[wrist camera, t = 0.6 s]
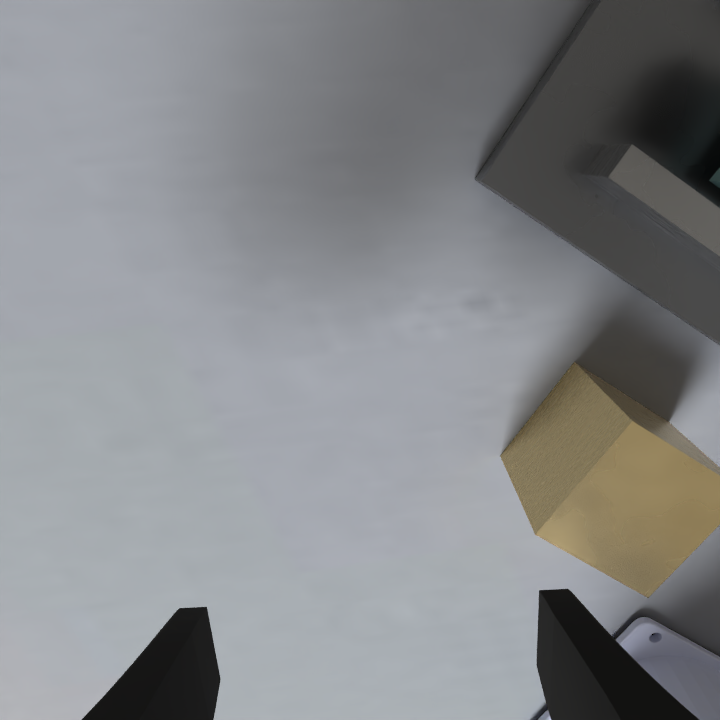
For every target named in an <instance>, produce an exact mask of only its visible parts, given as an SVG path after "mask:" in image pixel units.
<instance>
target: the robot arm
mask: <svg viewBox="0 0 720 720" xmlns="http://www.w3.org/2000/svg"><path fill="white" fill-rule="evenodd" d="M653 633H656V634H654V635H652V634H653ZM537 668H538V672H539V676H540V680H541V684H542V688H543V692H544V696H545V700H546V704H547V707H548V710H547V711H546V712H545V713H544V714H543V715H542V716H541V717H540V718H539V719H538V720H720V657H719V656H717V655H715V654H714V653H712V652H710V651H708V650H706V649H705V648H703V647H701V646H699V645H697V644H696V643H694V642H692V641H690V640H688V639H687V638H685V637H683V636H681V635H679V634H678V633H676V632H674V631H672V630H670V629H669V628H667V627H665V626H663V625H661V624H660V623H658V622H656V621H654V620H652V619H651V618H648V617H641V618H638V619H636V620H635V621H633V622H632V624H631V625H630V626H629V627H628V628H627V629H626V630H625V631H624V632H623V633H622V634H621V635H620V636H619V637H618V638H617V639H616V640H615V639H614V638H613V637H612V636H611V635H610V634H609V633H608V632H607V631H606V629H605V628H604V627H603V626H602V625H601V624H600V623H599V622H598V621H597V620H596V619H595V618H594V616H593V615H592V614H591V613H590V612H589V611H588V610H587V609H586V608H585V606H584V605H583V604H582V603H581V602H580V601H579V600H578V599H577V597H576V596H575V595H574V594H573V593H572V592H571V591H570V590H569V589H558V590H539V613H538V641H537ZM219 685H220V675H219V669H218V664H217V659H216V654H215V648H214V643H213V638H212V632H211V627H210V622H209V616H208V611H207V607H197V608H179V609H178V610H177V611H176V612H175V614H174V615H173V616H172V617H171V618H170V619H169V621H168V622H167V623H166V624H165V625H164V627H163V628H162V629H161V630H160V631H159V633H158V634H157V635H156V636H155V638H154V639H153V640H152V641H151V642H150V644H149V645H148V646H147V647H146V648H145V650H144V651H143V652H142V653H141V654H140V656H139V657H138V658H137V659H136V660H135V661H134V663H133V664H132V665H131V666H130V667H129V668H128V669H127V671H126V672H125V673H124V674H123V675H122V676H121V678H120V679H119V680H118V681H117V682H116V683H115V684H114V686H113V687H112V688H111V689H110V690H109V691H108V692H107V693H106V694H105V696H104V697H103V698H102V699H101V700H100V701H99V702H98V703H97V704H96V705H95V706H94V707H93V708H92V709H91V710H90V711H89V712H88V713H87V715H86V716H85V717H84V718H83V719H82V720H213V718H214V713H215V708H216V702H217V696H218V690H219Z"/></svg>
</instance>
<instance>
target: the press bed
mask: <svg viewBox="0 0 720 720" xmlns="http://www.w3.org/2000/svg"><path fill="white" fill-rule="evenodd" d="M719 132H720V0H593V1H592V2H591V4H590V5H589V7H588V8H587V10H586V11H585V13H584V14H583V16H582V17H581V19H580V20H579V22H578V23H577V25H576V27H575V28H574V30H573V31H572V33H571V34H570V36H569V37H568V39H567V40H566V42H565V43H564V45H563V46H562V48H561V49H560V51H559V52H558V54H557V55H556V57H555V58H554V60H553V61H552V63H551V64H550V66H549V68H548V69H547V71H546V72H545V74H544V75H543V77H542V78H541V80H540V81H539V83H538V84H537V86H536V87H535V89H534V90H533V92H532V93H531V95H530V96H529V98H528V99H527V101H526V102H525V104H524V105H523V107H522V109H521V110H520V112H519V113H518V115H517V116H516V118H515V119H514V121H513V122H512V124H511V125H510V127H509V128H508V130H507V131H506V133H505V134H504V136H503V137H502V139H501V140H500V142H499V143H498V145H497V146H496V148H495V150H494V151H493V153H492V154H491V156H490V157H489V159H488V160H487V162H486V163H485V165H484V166H483V168H482V169H481V171H480V172H479V174H478V175H477V177H476V178H475V180H476V181H478V182H479V183H481V184H482V185H484V186H485V187H487V188H488V189H490V190H491V191H492V192H494V193H495V194H497V195H498V196H500V197H501V198H503V199H504V200H506V201H507V202H509V203H510V204H512V205H513V206H515V207H516V208H518V209H519V210H521V211H522V212H524V213H525V214H526V215H528V216H529V217H531V218H532V219H534V220H535V221H537V222H538V223H540V224H541V225H543V226H544V227H546V228H547V229H549V230H550V231H552V232H553V233H555V234H556V235H557V236H559V237H560V238H562V239H563V240H565V241H566V242H568V243H569V244H571V245H572V246H574V247H575V248H577V249H578V250H580V251H581V252H583V253H584V254H586V255H587V256H589V257H590V258H591V259H593V260H594V261H596V262H597V263H599V264H600V265H602V266H603V267H605V268H606V269H608V270H609V271H611V272H612V273H614V274H615V275H617V276H618V277H620V278H621V279H623V280H624V281H625V282H627V283H628V284H630V285H631V286H633V287H634V288H636V289H637V290H639V291H640V292H642V293H643V294H645V295H646V296H648V297H649V298H651V299H652V300H654V301H655V302H656V303H658V304H659V305H661V306H662V307H664V308H665V309H667V310H668V311H670V312H671V313H673V314H674V315H676V316H677V317H679V318H680V319H682V320H683V321H685V322H686V323H688V324H689V325H690V326H692V327H693V328H695V329H696V330H698V331H699V332H701V333H702V334H704V335H705V336H707V337H708V338H710V339H711V340H713V341H714V342H716V343H717V344H719V345H720V188H719V187H717V186H716V185H715V184H713V183H712V182H710V181H709V180H710V179H711V178H712V176H713V175H714V174H715V173H716V171H717V170H718V169H719V167H720V133H719Z"/></svg>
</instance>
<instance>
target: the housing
mask: <svg viewBox="0 0 720 720" xmlns="http://www.w3.org/2000/svg"><path fill="white" fill-rule="evenodd" d="M500 457H501V459H502V461H503V463H504V465H505V468H506V470H507V472H508V474H509V477H510V479H511V481H512V483H513V486H514V488H515V490H516V492H517V495H518V497H519V499H520V501H521V504H522V506H523V508H524V510H525V512H526V515H527V517H528V519H529V521H530V524H531V526H532V528H533V530H534V533H535V535H537V536H539V537H541V538H542V539H544V540H546V541H548V542H549V543H551V544H553V545H555V546H557V547H558V548H560V549H562V550H564V551H566V552H567V553H569V554H571V555H573V556H574V557H576V558H578V559H580V560H582V561H583V562H585V563H587V564H589V565H590V566H592V567H594V568H596V569H598V570H599V571H601V572H603V573H605V574H606V575H608V576H610V577H612V578H614V579H615V580H617V581H619V582H621V583H622V584H624V585H626V586H628V587H630V588H631V589H633V590H635V591H637V592H638V593H640V594H642V595H644V596H646V597H647V598H649V597H650V596H651V595H652V593H653V592H654V591H655V590H656V589H657V588H658V587H659V586H660V585H661V584H662V583H663V582H664V581H665V580H666V579H667V578H668V577H669V576H670V575H671V574H672V573H673V572H674V571H675V570H676V569H677V568H678V567H679V566H680V565H681V564H682V563H683V562H684V561H685V560H686V559H687V558H688V557H689V555H690V554H691V553H692V552H693V551H694V550H695V549H696V548H697V547H698V546H699V545H700V544H701V543H702V542H703V541H704V540H705V539H706V538H707V537H708V536H709V535H710V534H711V533H712V532H713V531H714V530H715V529H716V528H717V527H718V526H719V525H720V467H718V466H717V465H716V464H715V463H714V462H713V461H712V460H711V459H710V458H708V457H707V456H706V455H705V454H704V453H703V452H702V451H701V450H699V449H698V448H697V447H696V446H695V445H694V444H693V443H692V442H691V441H689V440H688V439H687V438H686V437H685V436H684V435H683V434H682V433H681V432H679V431H678V430H677V429H676V428H675V427H674V426H673V425H672V424H670V423H669V422H668V421H666V420H665V419H663V418H662V417H660V416H659V415H657V414H655V413H654V412H652V411H651V410H649V409H648V408H646V407H644V406H643V405H641V404H640V403H638V402H636V401H635V400H633V399H632V398H630V397H629V396H627V395H625V394H624V393H622V392H621V391H619V390H618V389H616V388H614V387H613V386H611V385H610V384H608V383H607V382H605V381H603V380H602V379H600V378H599V377H597V376H596V375H594V374H592V373H591V372H589V371H588V370H586V369H584V368H583V367H581V366H580V365H578V364H577V363H575V362H574V363H573V364H572V366H571V367H570V368H569V369H568V371H567V372H566V373H565V374H564V376H563V377H562V378H561V380H560V381H559V382H558V383H557V385H556V386H555V387H554V388H553V390H552V391H551V392H550V393H549V395H548V396H547V397H546V399H545V400H544V401H543V402H542V404H541V405H540V406H539V407H538V409H537V410H536V411H535V412H534V414H533V415H532V416H531V418H530V419H529V420H528V421H527V423H526V424H525V425H524V426H523V428H522V429H521V430H520V431H519V433H518V434H517V435H516V437H515V438H514V439H513V440H512V442H511V443H510V444H509V445H508V447H507V448H506V449H505V450H504V452H503V453H502V454H501V456H500Z"/></svg>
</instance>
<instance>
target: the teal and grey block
mask: <svg viewBox="0 0 720 720" xmlns="http://www.w3.org/2000/svg"><path fill="white" fill-rule="evenodd" d="M719 133H720V132H719ZM709 181H710V182H712V183H713V184H715V185H716V186H717V187H719V188H720V167H719V169H718V170H717V171H716V173H715V174H714V175H713V176H712V178H711V179H710V180H709Z"/></svg>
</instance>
